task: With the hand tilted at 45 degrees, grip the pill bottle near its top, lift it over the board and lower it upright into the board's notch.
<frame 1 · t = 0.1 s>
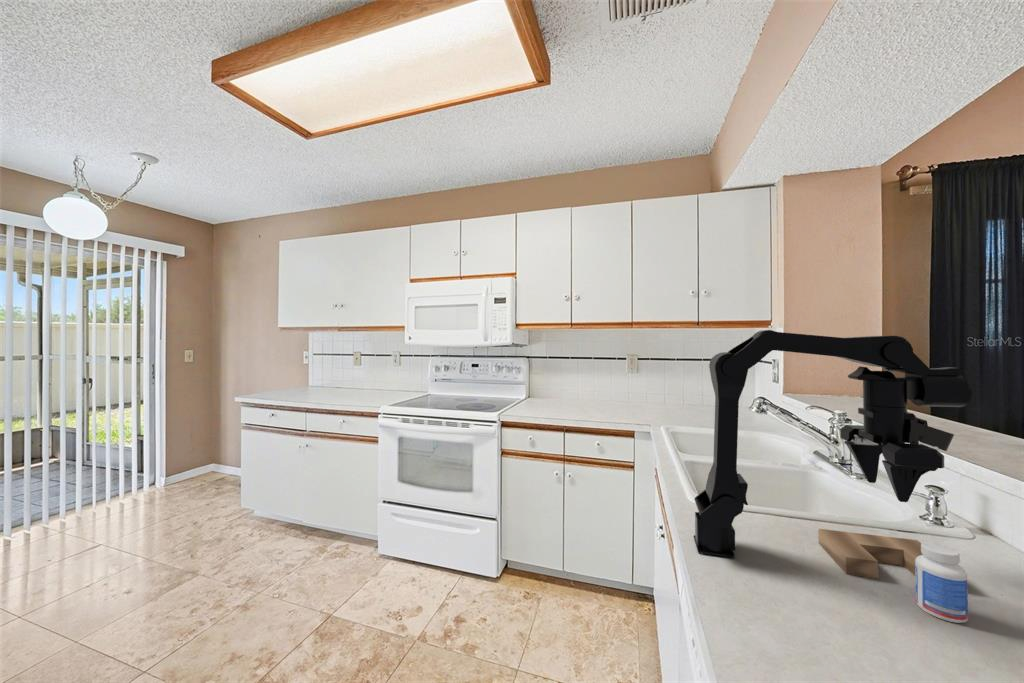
hand: (886, 491, 69), 15 cm above the worktop, tool pointing down, fingers open, 9 cm apart
notched board: (882, 564, 72), on the worktop
pill bottle: (941, 612, 59), on the worktop
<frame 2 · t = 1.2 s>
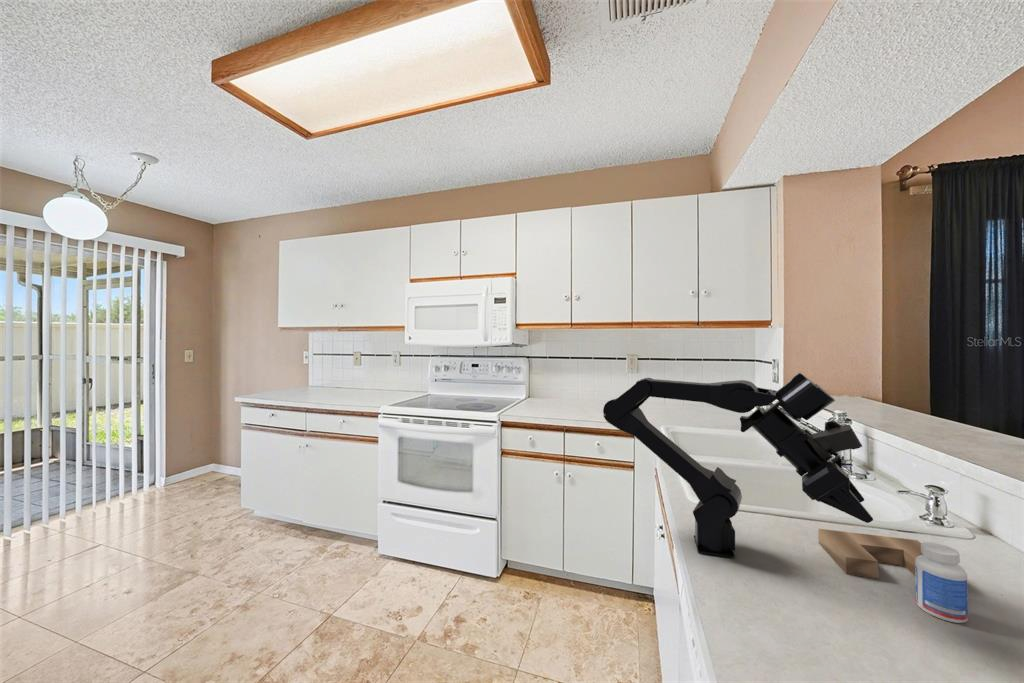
hand: (866, 510, 65), 13 cm above the worktop, tool tilted 45°, fingers open, 9 cm apart
nothing on the worktop moved.
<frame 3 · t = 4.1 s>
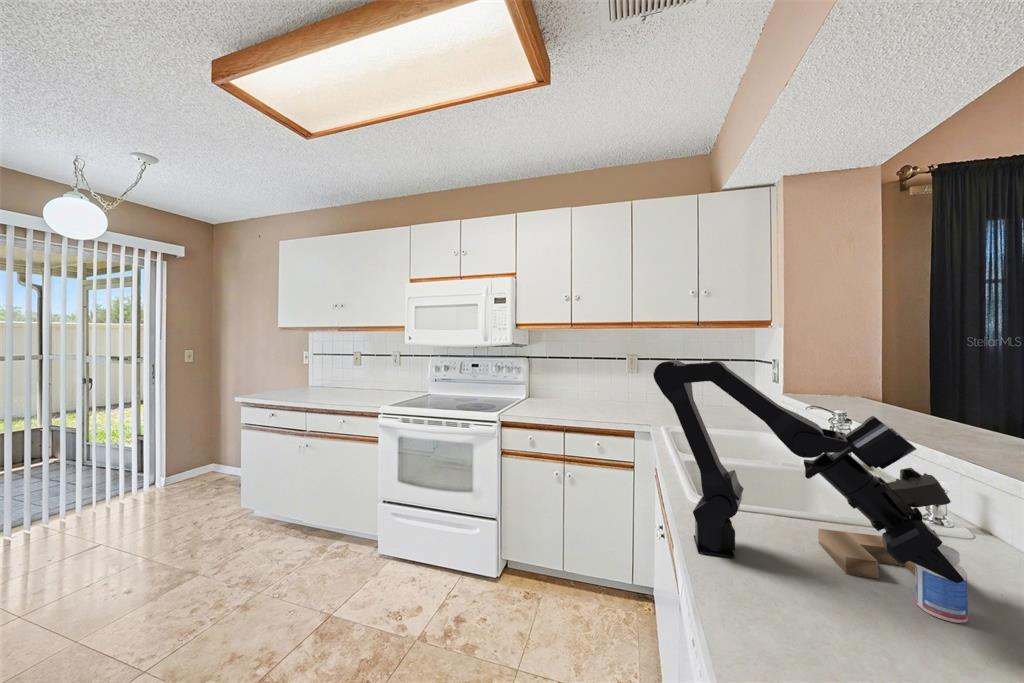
hand: (954, 571, 59), 7 cm above the worktop, tool tilted 45°, fingers closed on pill bottle, 5 cm apart
pill bottle: (941, 612, 59), on the worktop, touching gripper
when the fingers open (8 cm above the worktop, at t = 8.8 s): pill bottle drops 1 cm, on the worktop.
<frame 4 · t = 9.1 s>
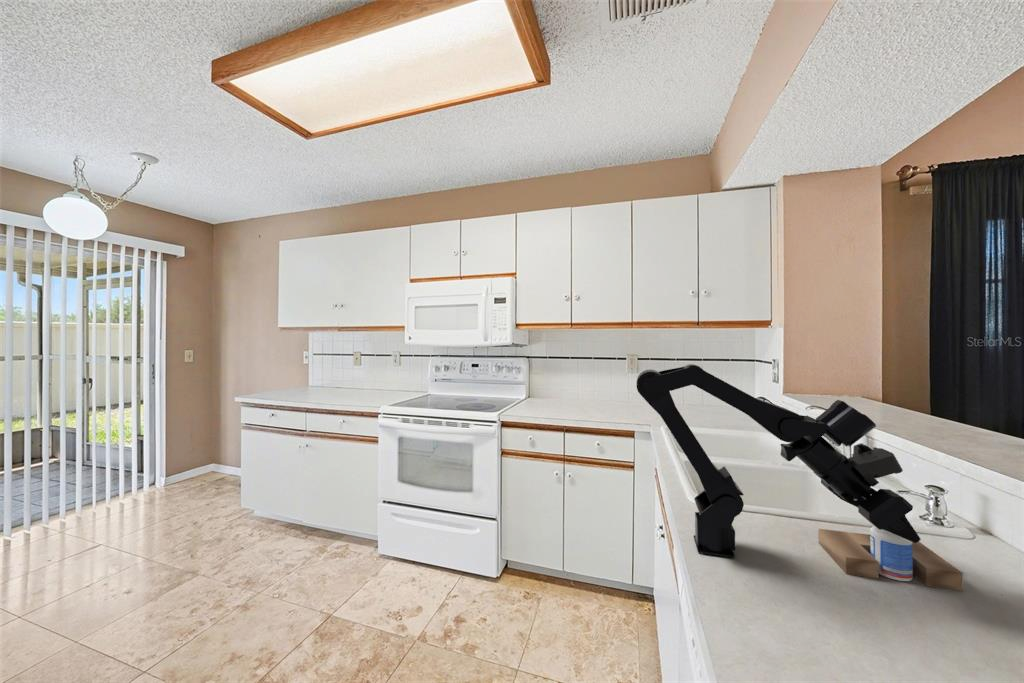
hand: (901, 529, 69), 8 cm above the worktop, tool tilted 45°, fingers open, 8 cm apart
pill bottle: (891, 574, 69), on the worktop
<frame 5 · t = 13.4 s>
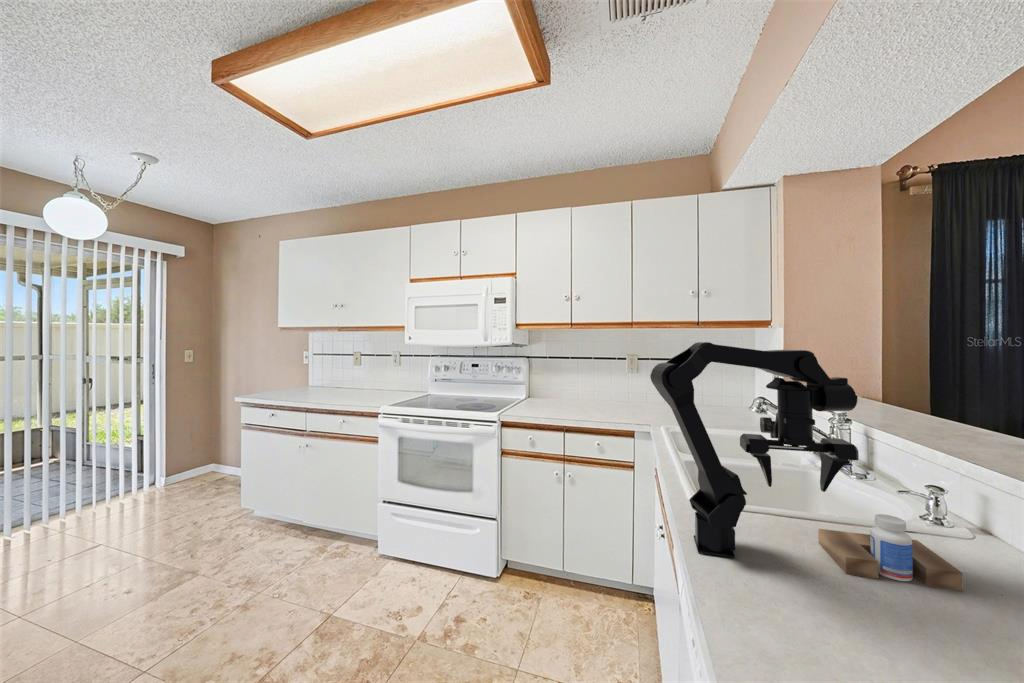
hand: (795, 488, 78), 12 cm above the worktop, tool pointing down, fingers open, 9 cm apart
nothing on the worktop moved.
at the end: pill bottle 0.2 cm from the target spot on the notched board, point 0.0 cm above the notched board's base; pill bottle tilted 0°; the gripper is holding nothing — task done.
